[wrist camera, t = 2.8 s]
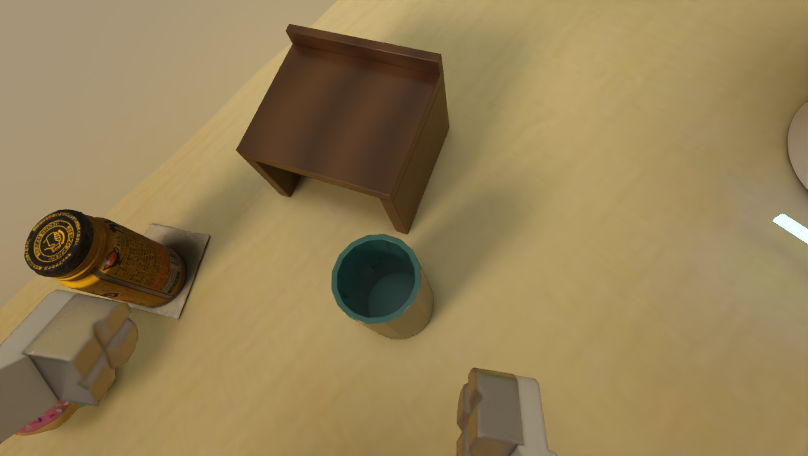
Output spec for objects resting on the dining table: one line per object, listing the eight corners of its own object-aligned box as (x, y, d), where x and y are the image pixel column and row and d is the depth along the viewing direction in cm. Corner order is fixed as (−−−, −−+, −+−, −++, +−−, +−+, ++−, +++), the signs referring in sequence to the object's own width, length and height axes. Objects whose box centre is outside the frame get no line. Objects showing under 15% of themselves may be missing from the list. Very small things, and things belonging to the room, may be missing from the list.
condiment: (116, 303, 44) (-6, 274, 33) (150, 224, 47) (48, 172, 36) (179, 319, 43) (74, 294, 32) (211, 236, 45) (124, 185, 34)
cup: (443, 282, 40) (433, 249, 31) (419, 350, 38) (401, 337, 29) (380, 261, 42) (352, 223, 32) (354, 325, 40) (317, 305, 31)
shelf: (449, 127, 45) (441, 53, 35) (407, 234, 42) (385, 186, 32) (327, 97, 49) (289, 23, 39) (280, 194, 46) (225, 140, 36)
